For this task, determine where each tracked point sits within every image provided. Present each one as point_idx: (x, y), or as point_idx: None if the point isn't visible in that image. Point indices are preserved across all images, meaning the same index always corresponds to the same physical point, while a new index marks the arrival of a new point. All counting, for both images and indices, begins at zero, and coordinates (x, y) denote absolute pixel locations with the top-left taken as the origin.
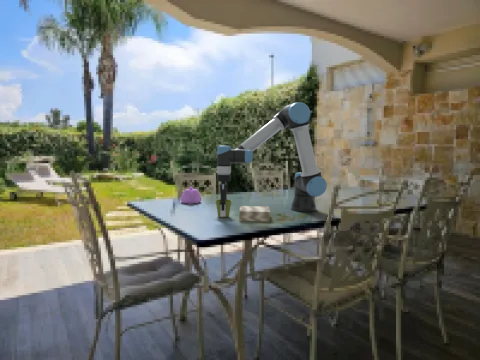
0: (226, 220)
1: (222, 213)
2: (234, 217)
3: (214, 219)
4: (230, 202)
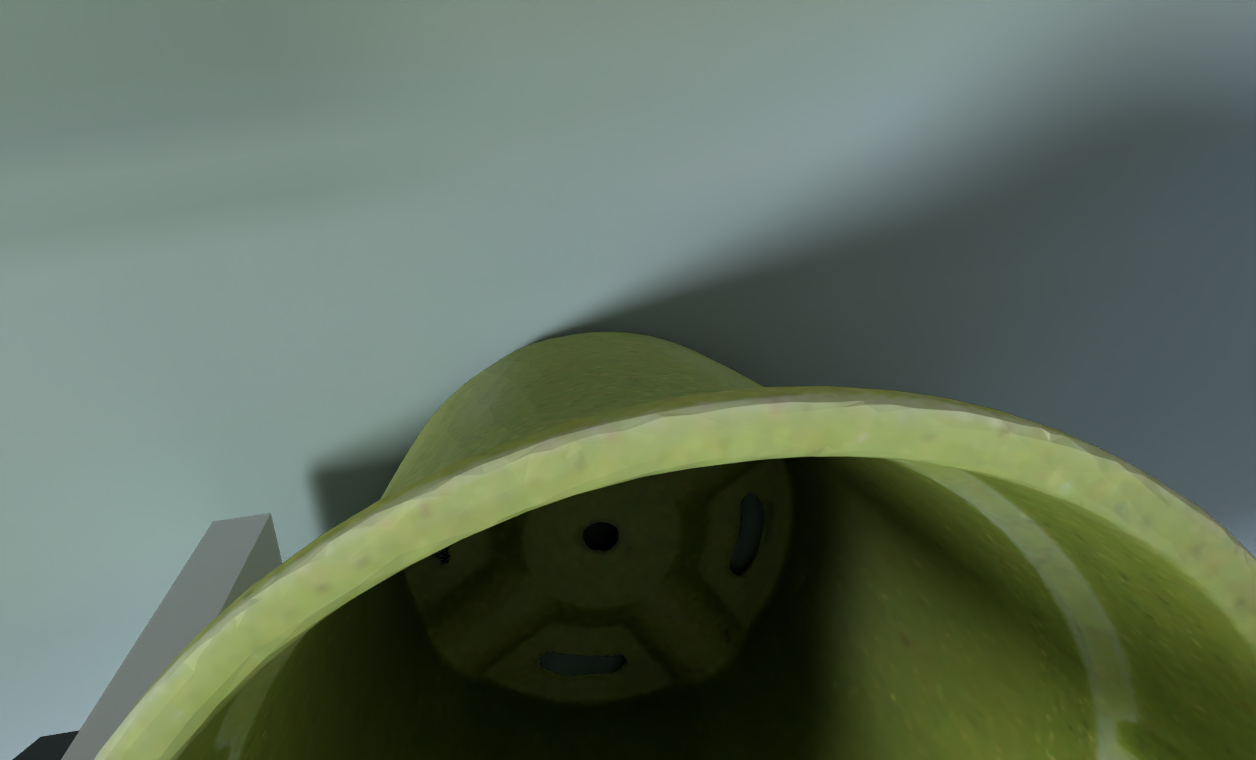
0: (1244, 293)
1: None
2: (727, 87)
3: None
4: (1092, 454)
